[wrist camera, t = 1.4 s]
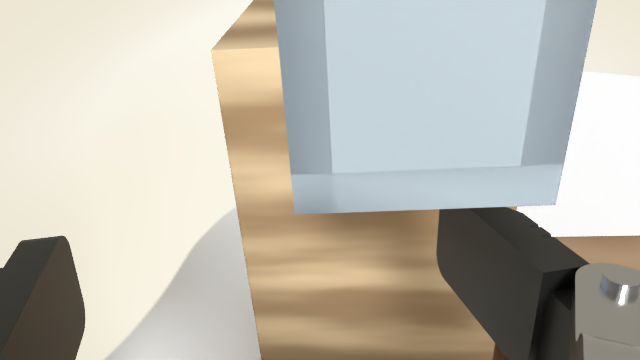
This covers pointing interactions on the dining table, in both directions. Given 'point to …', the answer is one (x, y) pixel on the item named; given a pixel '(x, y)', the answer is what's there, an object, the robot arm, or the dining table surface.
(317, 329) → the oak tower
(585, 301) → the robot arm
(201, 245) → the dining table surface
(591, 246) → the walnut crate
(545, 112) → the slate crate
